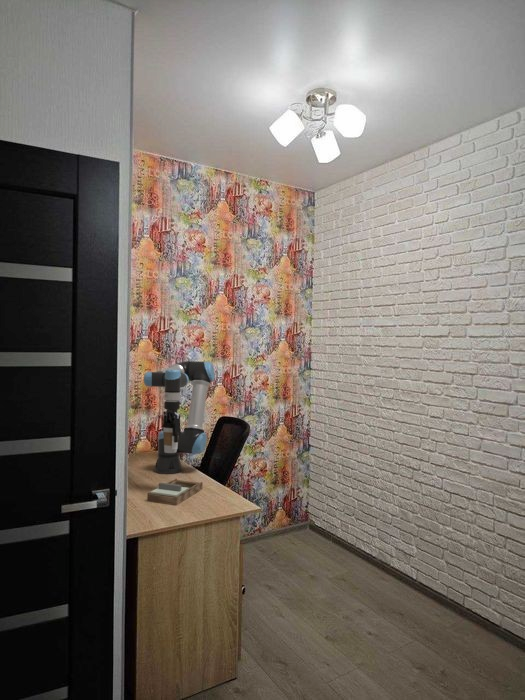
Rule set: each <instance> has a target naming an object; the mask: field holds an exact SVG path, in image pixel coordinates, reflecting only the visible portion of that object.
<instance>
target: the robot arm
mask: <svg viewBox="0 0 525 700" xmlns="http://www.w3.org/2000/svg"><path fill="white" fill-rule="evenodd" d="M215 373H216V372H215V368H214V364H213V363H212V362H211V361H200V360H199V361H193V360H192V361H191V360H186V361H182V362H177V363H175V364H172V365H171V366H169V367H167V368H165V369H161V370H157V371H146V372H145V373H144V376H143V384H144V386H145V387H150V388H152V387H153V388H154V387H156V388H157V387H158V388H160V387H161V388H164V394H163V396H164V404H163V408H164V410H166V411H163V415H162V416H163V420H162V423H163V422H167V423H173V429H172V430H173V435H172V449H177V452H176V453H165V452H164V437H163V431H164V430H163V426H162V429H161V431H159V432H158V437H157V441H158V443H157V459H156V462H155V465H154V472H155V473H157V474H162V475H163V474H165V475H170V474H171V475H173V474H179V473H181V472H182V470H183V465H182V461H181V459H180V454H192V455H198V454H199V455H200V454H202V453H203V452H204V451H205V448H206V445H207V440H208V439H207V438H208V437H207V436H208V435H207V433H206V432H205V429H204V428H203V423H204V415H205V408H206V400H207V393H208V388H209V387H210V386H211V383H213V382H214V381H215V376H216V374H215ZM189 381H190V384H191V385H192V389H191V395H190V396H191V397H190V402H189V410H188V417H187V425H185V426H184V428H183V431H181V413H178V410H179V409H180V407H181V406H180V405H181V402H180V400H181V388H184V387H186V386H187V385H188V384H189ZM174 423H175V424H174ZM178 435H179V436H178Z"/></svg>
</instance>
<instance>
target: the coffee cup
mask: <svg viewBox="0 0 525 700" xmlns="http://www.w3.org/2000/svg"><path fill="white" fill-rule="evenodd" d="M174 424H175V423H174ZM162 427H163V430H164V431H163V437H164V452H165V453H176V452H177V449H172V435H173V430H172V429H173V423H167V422H163V421H162ZM178 436H179V435H178Z"/></svg>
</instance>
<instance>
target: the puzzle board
mask: <svg viewBox="0 0 525 700" xmlns="http://www.w3.org/2000/svg"><path fill="white" fill-rule="evenodd" d="M167 483H168V484H176V485H181V487H186V488H189V490H187V491H185V492H183V493H182V494H180V495H178V496H177V497H173V496H166V495H159V494H152V493H151V491H150V492H147V497H146V498H147V499H146V500H147V502H151V503H152V502H153V503H160V504H167V505H171V506H172V505H173V506H178V505H180V504H181V503H183V502H185V501H187V500H188V499H189V498H190V497H192V496H194V495H195V494H197V493H199V492H200V491H202V490H203V486H204V484H203V481H201V482H199V481H198V482H196V481H187V480H181V479H180V480H179V479H177V478H175V479H173V480H171V481H169V482H167Z"/></svg>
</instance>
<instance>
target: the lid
mask: <svg viewBox="0 0 525 700" xmlns="http://www.w3.org/2000/svg"><path fill="white" fill-rule="evenodd" d="M168 483H169V482H167V483H166V482H158V487H157V488H155V489H153V490H151V491H150V492H151V493H152V494H159V495H166V496H173V497H177V496H178V495H180V494H182V493H183V492H185V491H187V490H189V488H186V487H181V485H176V484H168Z"/></svg>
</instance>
